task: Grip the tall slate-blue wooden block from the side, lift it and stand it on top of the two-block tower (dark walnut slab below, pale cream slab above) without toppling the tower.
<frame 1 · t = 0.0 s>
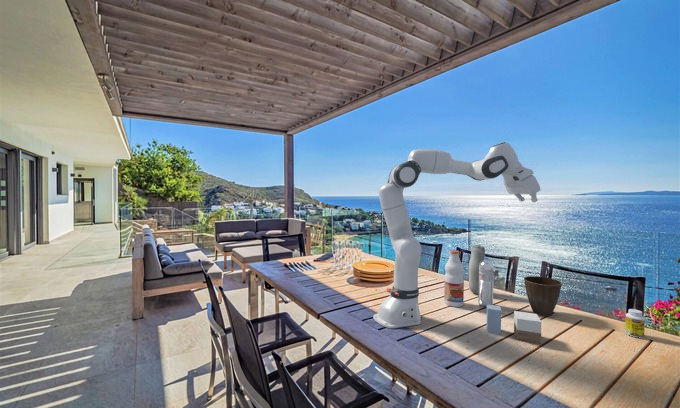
hand: (528, 201, 134), 54 cm above the table, tool tilted 30°, fingers open, 8 cm apart
fruit juice: (453, 304, 153), on the table
plant pot: (541, 313, 141), on the table
block bottom: (526, 338, 118), on the table, touching block top
supplement bottle: (634, 335, 119), on the table
grey thermos flask: (477, 293, 169), on the table
water bottle: (485, 305, 151), on the table
tall block: (493, 330, 123), on the table
block top: (526, 327, 117), point 4 cm above the table, touching block bottom
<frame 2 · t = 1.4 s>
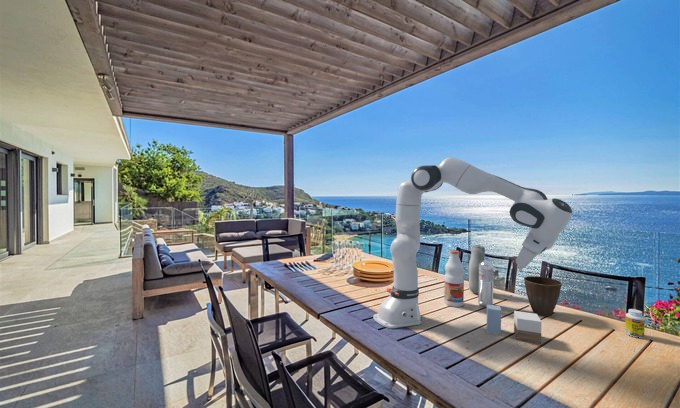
hand: (524, 263, 119), 29 cm above the table, tool tilted 35°, fingers open, 8 cm apart
nothing on the table moved.
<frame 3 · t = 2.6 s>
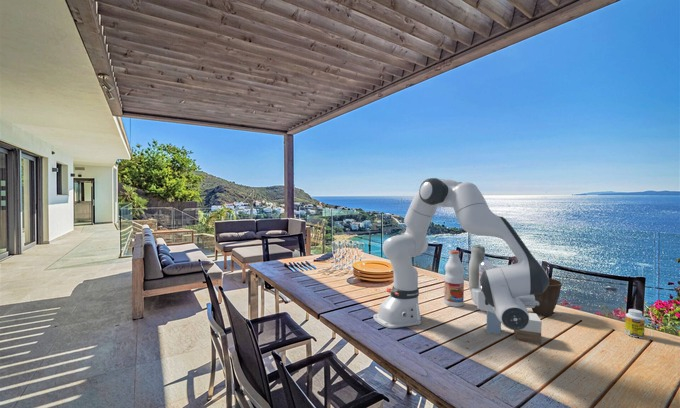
hand: (498, 291, 112), 20 cm above the table, tool horizontal, fingers open, 8 cm apart
nothing on the table moved.
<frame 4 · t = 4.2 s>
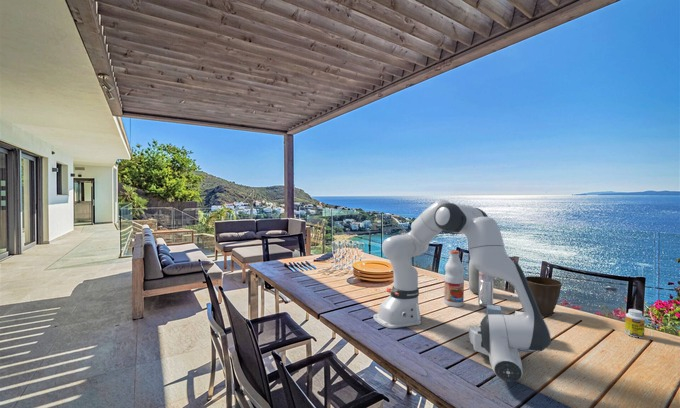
hand: (497, 328, 112), 6 cm above the table, tool horizontal, fingers open, 8 cm apart
nothing on the table moved.
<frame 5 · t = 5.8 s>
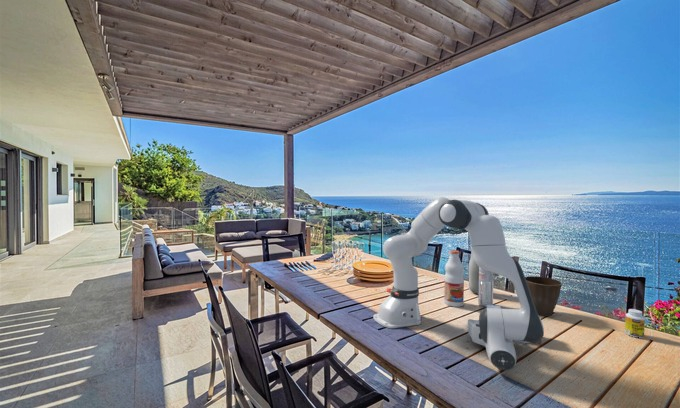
hand: (494, 322, 119), 5 cm above the table, tool horizontal, fingers open, 8 cm apart
nothing on the table moved.
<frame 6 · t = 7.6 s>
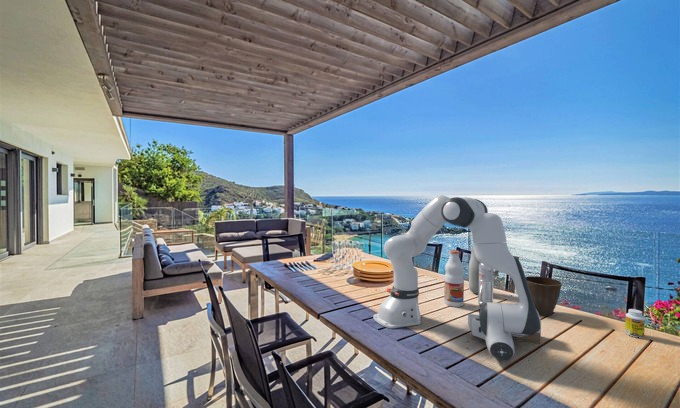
hand: (493, 316, 124), 6 cm above the table, tool horizontal, fingers closed on tall block, 5 cm apart
tall block: (493, 330, 123), on the table, touching gripper
everything else where it was.
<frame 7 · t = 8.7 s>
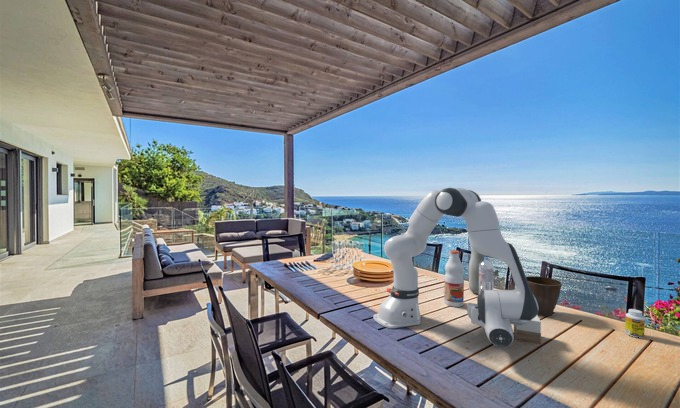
hand: (492, 306, 124), 10 cm above the table, tool horizontal, fingers closed on tall block, 5 cm apart
tall block: (492, 319, 124), point 4 cm above the table, touching gripper
everything else where it was.
when the fingers open (15 cm above the table, at t = 13.7 s): tall block stays where it is, point 9 cm above the table.
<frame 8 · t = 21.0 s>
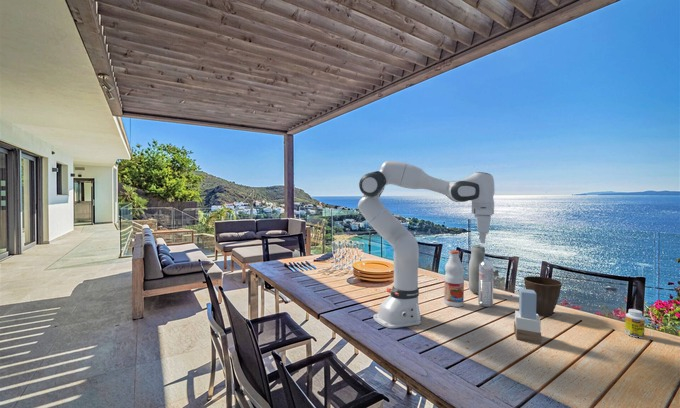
hand: (482, 241, 127), 37 cm above the table, tool pointing down, fingers open, 8 cm apart
tall block: (527, 315, 117), point 9 cm above the table
everything else where it was.
at the end: tall block 0.3 cm off-centre on the block top, point 4.5 cm above the block top's base; tall block tilted 0°; block top 0.1 cm off-centre on the block bottom, point 4.5 cm above the block bottom's base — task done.
